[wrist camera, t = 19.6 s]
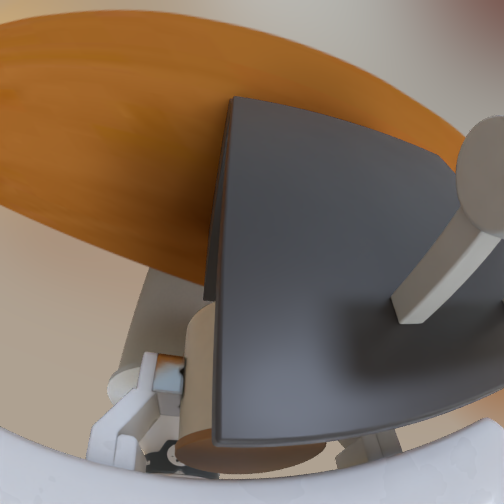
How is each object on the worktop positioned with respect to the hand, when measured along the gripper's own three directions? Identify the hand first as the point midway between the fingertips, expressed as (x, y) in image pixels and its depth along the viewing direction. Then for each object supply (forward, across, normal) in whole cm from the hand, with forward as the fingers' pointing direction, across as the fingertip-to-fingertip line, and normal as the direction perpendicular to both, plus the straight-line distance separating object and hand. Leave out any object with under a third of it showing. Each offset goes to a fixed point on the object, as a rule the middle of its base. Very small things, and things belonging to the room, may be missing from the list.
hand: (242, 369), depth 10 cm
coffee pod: (+2, 0, 0) cm, 2 cm away
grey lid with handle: (+2, -5, -6) cm, 8 cm away
